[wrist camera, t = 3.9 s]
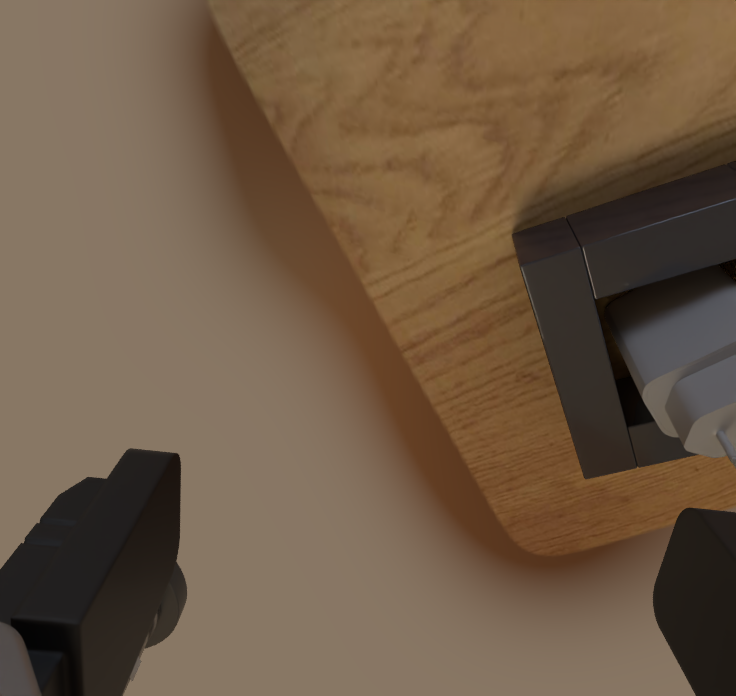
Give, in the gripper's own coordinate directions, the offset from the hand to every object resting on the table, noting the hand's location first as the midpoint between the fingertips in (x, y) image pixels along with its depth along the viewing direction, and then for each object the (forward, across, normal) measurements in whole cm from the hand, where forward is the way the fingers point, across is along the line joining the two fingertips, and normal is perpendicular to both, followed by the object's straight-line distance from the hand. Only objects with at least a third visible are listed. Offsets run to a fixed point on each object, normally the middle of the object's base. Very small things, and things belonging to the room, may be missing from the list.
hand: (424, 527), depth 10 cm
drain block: (+21, -13, +1) cm, 25 cm away
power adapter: (+21, -14, +1) cm, 25 cm away
